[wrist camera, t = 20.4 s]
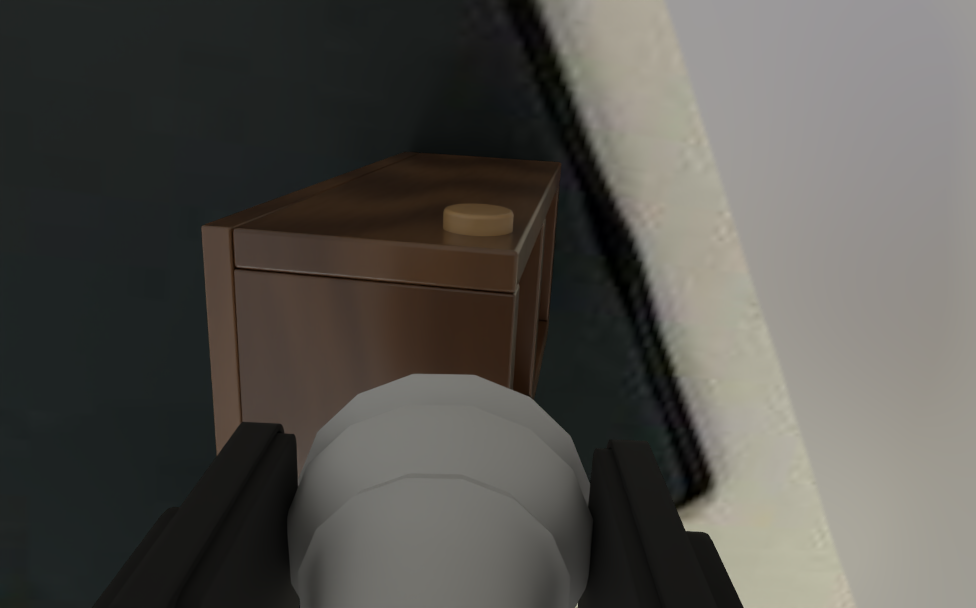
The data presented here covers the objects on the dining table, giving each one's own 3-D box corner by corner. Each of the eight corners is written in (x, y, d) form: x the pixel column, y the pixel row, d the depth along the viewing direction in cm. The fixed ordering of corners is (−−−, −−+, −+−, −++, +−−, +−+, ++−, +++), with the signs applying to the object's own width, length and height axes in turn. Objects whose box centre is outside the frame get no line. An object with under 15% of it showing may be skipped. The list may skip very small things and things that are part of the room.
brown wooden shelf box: (222, 552, 16) (496, 591, 15) (198, 203, 14) (519, 229, 13) (401, 329, 30) (546, 343, 29) (404, 140, 28) (562, 151, 27)
